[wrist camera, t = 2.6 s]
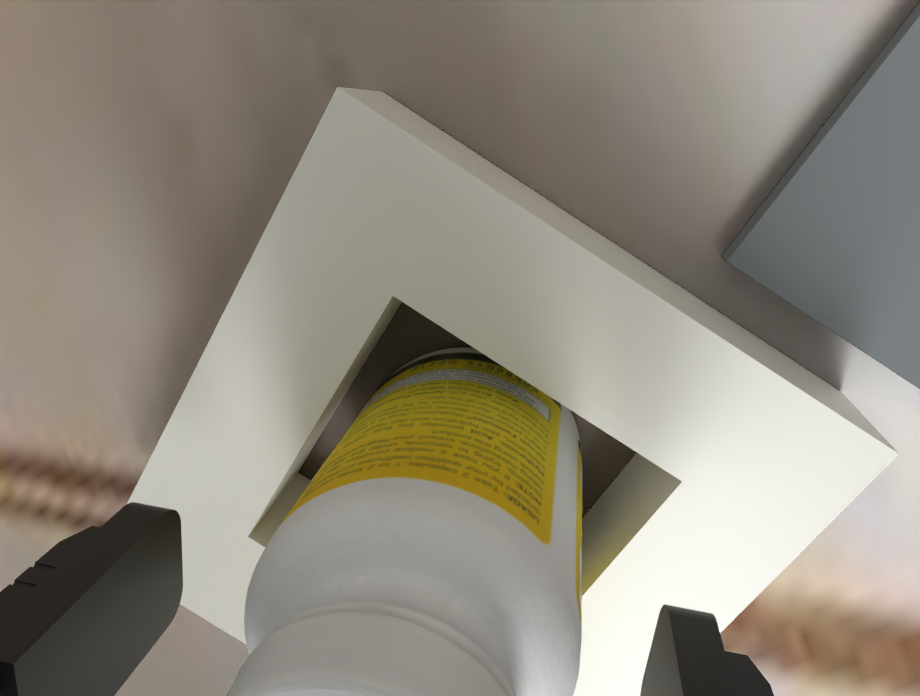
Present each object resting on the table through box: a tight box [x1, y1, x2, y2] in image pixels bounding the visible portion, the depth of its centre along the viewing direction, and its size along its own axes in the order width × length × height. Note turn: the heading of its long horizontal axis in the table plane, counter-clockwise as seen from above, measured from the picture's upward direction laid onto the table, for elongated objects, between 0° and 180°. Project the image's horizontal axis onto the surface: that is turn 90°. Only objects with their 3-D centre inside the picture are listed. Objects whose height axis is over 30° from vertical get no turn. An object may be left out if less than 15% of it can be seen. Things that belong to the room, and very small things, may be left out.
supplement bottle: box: [227, 347, 583, 696], centre depth 13 cm, size 5×5×10 cm
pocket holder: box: [127, 87, 899, 696], centre depth 16 cm, size 12×12×3 cm
